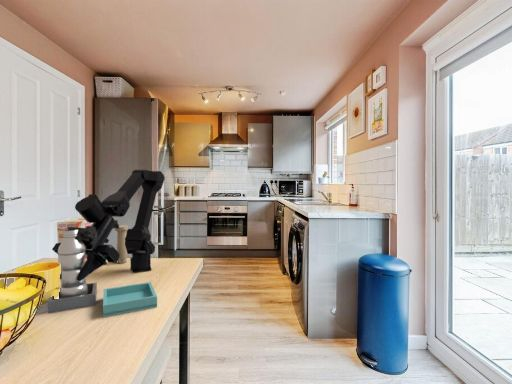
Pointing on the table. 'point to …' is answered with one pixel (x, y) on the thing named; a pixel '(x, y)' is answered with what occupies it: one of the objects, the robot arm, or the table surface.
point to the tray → (128, 299)
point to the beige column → (121, 243)
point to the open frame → (73, 300)
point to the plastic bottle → (72, 265)
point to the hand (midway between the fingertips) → (69, 279)
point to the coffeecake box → (70, 223)
